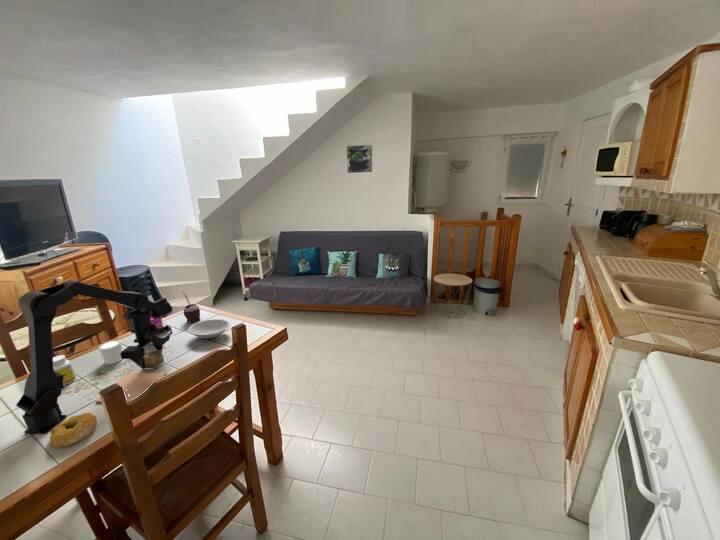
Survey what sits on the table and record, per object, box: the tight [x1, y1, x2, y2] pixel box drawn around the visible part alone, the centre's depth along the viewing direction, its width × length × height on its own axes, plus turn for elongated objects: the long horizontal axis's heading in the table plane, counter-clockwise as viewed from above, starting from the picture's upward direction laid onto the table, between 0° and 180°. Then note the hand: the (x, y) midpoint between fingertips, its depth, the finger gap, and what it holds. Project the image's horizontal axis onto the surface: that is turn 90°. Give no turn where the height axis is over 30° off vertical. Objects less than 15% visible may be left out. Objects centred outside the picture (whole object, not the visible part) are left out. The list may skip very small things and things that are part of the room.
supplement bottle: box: [53, 354, 76, 386], centre depth 105 cm, size 5×5×10 cm
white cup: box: [98, 339, 123, 365], centre depth 118 cm, size 7×7×7 cm
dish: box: [187, 318, 231, 339], centre depth 134 cm, size 18×14×5 cm
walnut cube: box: [144, 349, 165, 369], centre depth 114 cm, size 5×5×5 cm
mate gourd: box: [181, 290, 201, 325], centre depth 147 cm, size 8×8×15 cm
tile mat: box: [95, 372, 167, 404], centre depth 103 cm, size 14×14×1 cm
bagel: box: [49, 412, 98, 448], centre depth 84 cm, size 10×11×5 cm
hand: (152, 360), depth 115 cm, fingers open, 9 cm apart
